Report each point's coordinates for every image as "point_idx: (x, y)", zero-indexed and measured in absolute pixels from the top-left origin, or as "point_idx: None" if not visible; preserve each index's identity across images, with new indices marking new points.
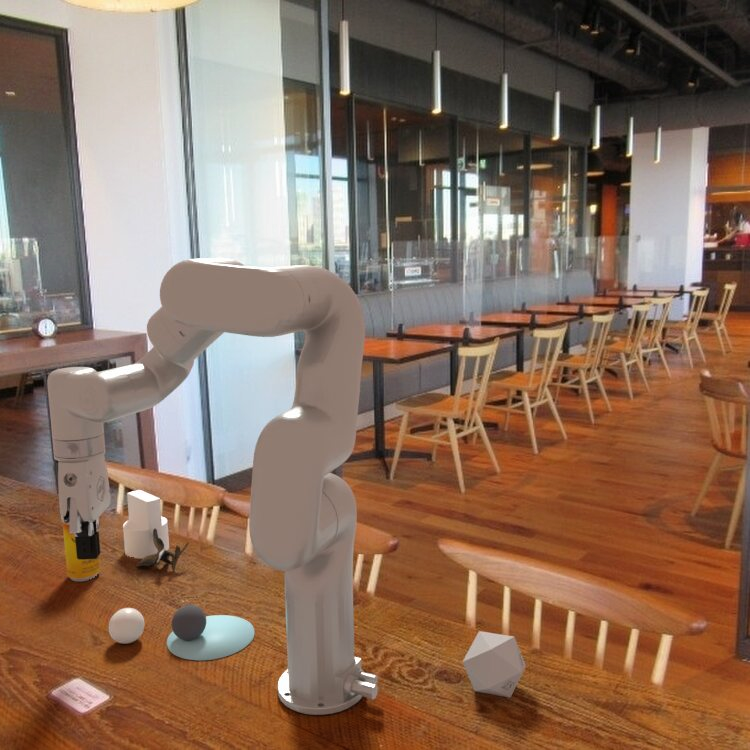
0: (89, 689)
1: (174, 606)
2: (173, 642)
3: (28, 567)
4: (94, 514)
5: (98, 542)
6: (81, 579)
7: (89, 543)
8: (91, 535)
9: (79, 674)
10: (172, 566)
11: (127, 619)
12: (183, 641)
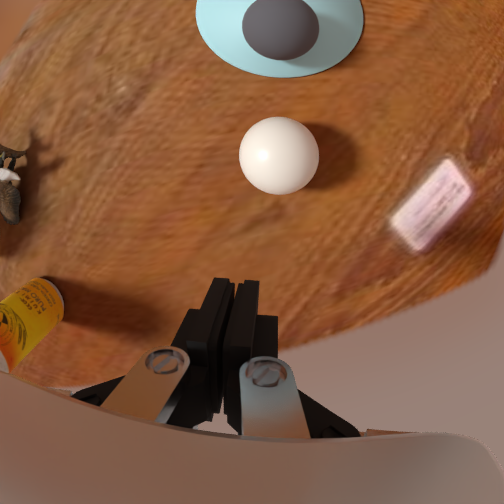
0: (425, 193)
1: (141, 98)
2: (299, 64)
3: (50, 367)
4: (460, 481)
5: (217, 307)
6: (61, 299)
7: (274, 346)
8: (287, 367)
9: (381, 220)
10: (19, 155)
11: (308, 146)
12: None
